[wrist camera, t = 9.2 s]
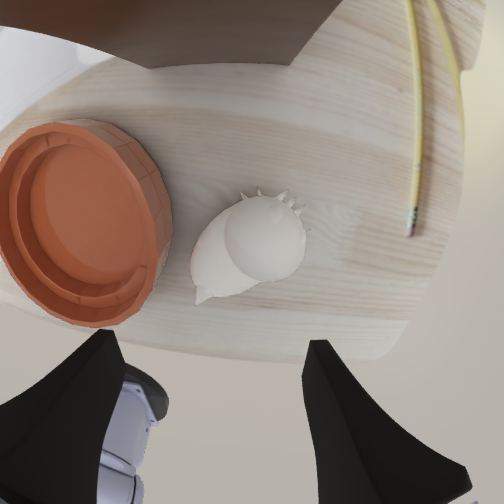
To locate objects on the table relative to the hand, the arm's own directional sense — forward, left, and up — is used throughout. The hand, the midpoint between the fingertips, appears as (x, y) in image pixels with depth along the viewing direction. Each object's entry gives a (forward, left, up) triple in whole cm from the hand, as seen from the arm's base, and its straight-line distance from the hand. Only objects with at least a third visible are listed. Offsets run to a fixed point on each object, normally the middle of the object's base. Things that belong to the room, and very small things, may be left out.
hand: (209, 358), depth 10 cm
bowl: (+2, +10, -9) cm, 13 cm away
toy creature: (+1, -1, -9) cm, 10 cm away
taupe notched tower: (+15, +1, -9) cm, 18 cm away
